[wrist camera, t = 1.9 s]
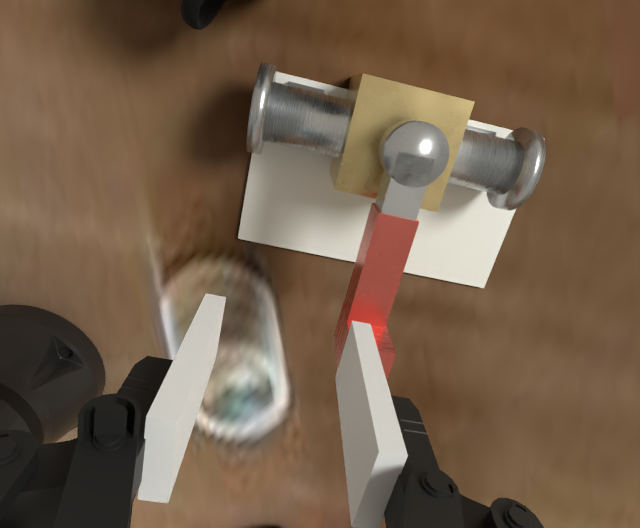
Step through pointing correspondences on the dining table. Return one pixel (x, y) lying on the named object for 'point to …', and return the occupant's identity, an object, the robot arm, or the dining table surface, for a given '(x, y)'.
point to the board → (365, 212)
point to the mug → (200, 12)
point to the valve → (375, 119)
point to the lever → (391, 229)
